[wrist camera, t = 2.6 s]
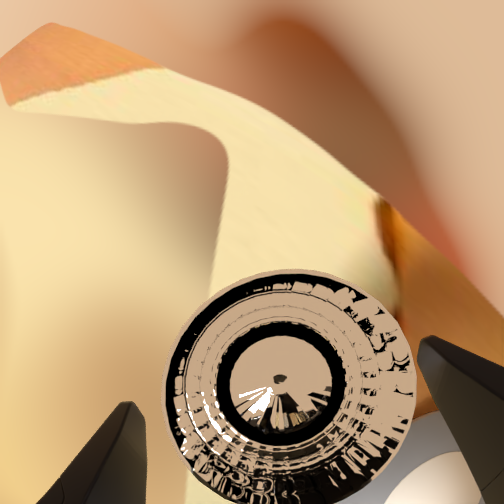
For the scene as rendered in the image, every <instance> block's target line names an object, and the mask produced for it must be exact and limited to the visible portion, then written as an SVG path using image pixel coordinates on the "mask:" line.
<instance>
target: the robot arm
mask: <svg viewBox="0 0 504 504" xmlns="http://www.w3.org/2000/svg"><path fill="white" fill-rule="evenodd" d="M417 362H418V365H419V367H420V370H421V372H422V374H423V377H424V379H425V381H426V384H427V386H428V388H429V391H430V393H431V395H432V398H433V400H434V402H435V404H436V406H437V407H438V409H439V411H440V413H441V415H442V416H443V418H444V420H445V422H446V424H447V426H448V428H449V429H450V431H451V433H452V435H453V437H454V439H455V441H456V443H457V445H458V447H459V449H460V451H461V453H462V455H463V457H464V459H465V461H466V463H467V465H468V467H469V469H470V471H471V473H472V475H473V477H474V480H475V482H476V484H477V486H478V488H479V491H480V493H481V495H482V498H483V500H484V502H485V504H504V367H502V366H500V365H498V364H496V363H494V362H491V361H489V360H487V359H485V358H483V357H480V356H478V355H476V354H474V353H471V352H469V351H467V350H465V349H463V348H460V347H458V346H456V345H454V344H452V343H449V342H447V341H445V340H443V339H441V338H438V337H436V336H434V335H430V336H427V337H425V338H423V339H422V340H421V341H420V345H419V350H418V354H417ZM146 480H147V449H146V424H145V419H144V417H143V415H142V413H141V412H140V411H139V409H138V407H137V406H136V404H135V403H134V402H132V401H126V402H121V403H119V405H118V406H117V407H116V408H115V409H114V411H113V412H112V413H111V414H110V415H109V417H108V418H107V419H106V420H105V421H104V423H103V424H102V425H101V427H100V428H99V429H98V430H97V431H96V433H95V434H94V435H93V436H92V437H91V439H90V440H89V441H88V442H87V444H86V445H85V446H84V447H83V449H82V450H81V451H80V452H79V453H78V455H77V456H76V457H75V458H74V460H73V461H72V462H71V463H70V465H69V466H68V467H67V468H66V470H65V471H64V472H63V473H62V474H61V476H60V478H58V479H57V481H56V482H55V483H54V484H53V485H52V487H51V488H50V489H49V490H48V491H47V493H46V494H45V495H44V496H43V497H42V498H41V499H40V500H39V501H38V502H37V503H36V504H146Z"/></svg>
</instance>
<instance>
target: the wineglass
mask: <svg viewBox="0 0 504 504" xmlns="http://www.w3.org/2000/svg"><path fill="white" fill-rule="evenodd" d="M416 386H417V375H416V370H415V366H414V361H413V357H412V353H411V349H410V346H409V344H408V342H407V340H406V338H405V336H404V334H403V332H402V330H401V328H400V326H399V324H398V322H397V321H396V320H395V319H394V318H393V317H392V315H391V314H390V313H389V312H388V311H387V310H386V308H385V307H384V306H383V305H382V304H381V303H380V302H379V301H378V300H377V299H375V298H374V297H373V296H371V295H370V294H368V293H367V292H366V291H364V290H363V289H361V288H360V287H358V286H357V285H355V284H353V283H351V282H348V281H346V280H343V279H341V278H338V277H336V276H333V275H331V274H328V273H323V272H319V271H314V270H303V269H282V270H275V271H269V272H263V273H259V274H256V275H253V276H250V277H247V278H244V279H241V280H239V281H237V282H235V283H233V284H231V285H230V286H228V287H226V288H224V289H222V290H220V291H219V292H217V293H216V294H215V295H214V296H212V297H211V298H210V299H208V300H207V301H206V302H205V303H203V304H202V305H201V306H200V307H199V308H198V309H197V310H196V312H195V313H194V314H193V315H192V316H191V317H190V318H189V319H188V321H187V322H186V323H185V324H184V325H183V327H182V329H181V330H180V332H179V334H178V336H177V338H176V339H175V341H174V343H173V345H172V347H171V348H170V351H169V354H168V358H167V361H166V365H165V368H164V371H163V375H162V394H161V406H162V411H163V416H164V420H165V425H166V430H167V434H168V436H169V438H170V440H171V442H172V444H173V446H174V448H175V450H176V452H177V454H178V456H179V457H180V460H182V462H183V463H184V464H185V465H186V467H187V468H188V469H189V470H190V471H191V472H192V474H193V475H194V476H195V477H196V478H197V479H198V480H199V481H200V482H201V483H203V484H204V485H205V486H207V487H208V488H210V489H211V490H212V491H214V492H215V493H217V494H218V495H220V496H221V497H223V498H224V499H227V500H229V501H232V502H234V503H237V504H334V503H337V502H340V501H342V500H344V499H346V498H348V497H349V496H351V495H353V494H355V493H356V492H358V491H360V490H361V489H363V488H364V487H365V486H367V485H368V484H369V483H370V482H371V481H372V480H374V479H375V478H376V477H377V476H378V475H379V474H380V473H382V472H383V470H384V469H385V468H386V467H387V465H388V464H389V463H390V462H391V460H392V459H393V458H394V456H395V455H396V454H397V452H398V451H399V449H400V447H401V445H402V443H403V441H404V439H405V437H406V435H407V433H408V431H409V429H410V425H411V422H412V418H413V414H414V410H415V405H416Z"/></svg>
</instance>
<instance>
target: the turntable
mask: <svg viewBox="0 0 504 504" xmlns="http://www.w3.org/2000/svg"><path fill="white" fill-rule="evenodd" d="M334 504H485V502H484V500H483V498H482V495H481V493H480V491H479V488H478V486H477V484H476V482H475V480H474V477H473V475H472V473H471V471H470V469H469V467H468V465H467V463H466V461H465V459H464V457H463V455H462V453H461V451H460V449H459V447H458V445H457V443H456V441H455V439H454V437H453V435H452V433H451V431H450V429H449V428H448V426H447V424H446V422H445V420H444V418H443V416H442V415H441V413H440V411H439V410H436V411H433V412H429V413H427V414H424V415H422V416H419V417H417V418H415V419H413V420H412V422H411V425H410V429H409V431H408V433H407V435H406V437H405V439H404V441H403V443H402V445H401V447H400V449H399V451H398V452H397V454H396V455H395V456H394V458H393V459H392V460H391V462H390V463H389V464H388V465H387V467H386V468H385V469H384V470H383V472H382V473H380V474H379V475H378V476H377V477H376V478H375V479H374V480H372V481H371V482H370V483H369V484H368V485H367V486H365V487H364V488H363V489H361V490H360V491H358V492H356V493H355V494H353V495H351V496H349V497H348V498H346V499H344V500H342V501H340V502H337V503H334Z"/></svg>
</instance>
